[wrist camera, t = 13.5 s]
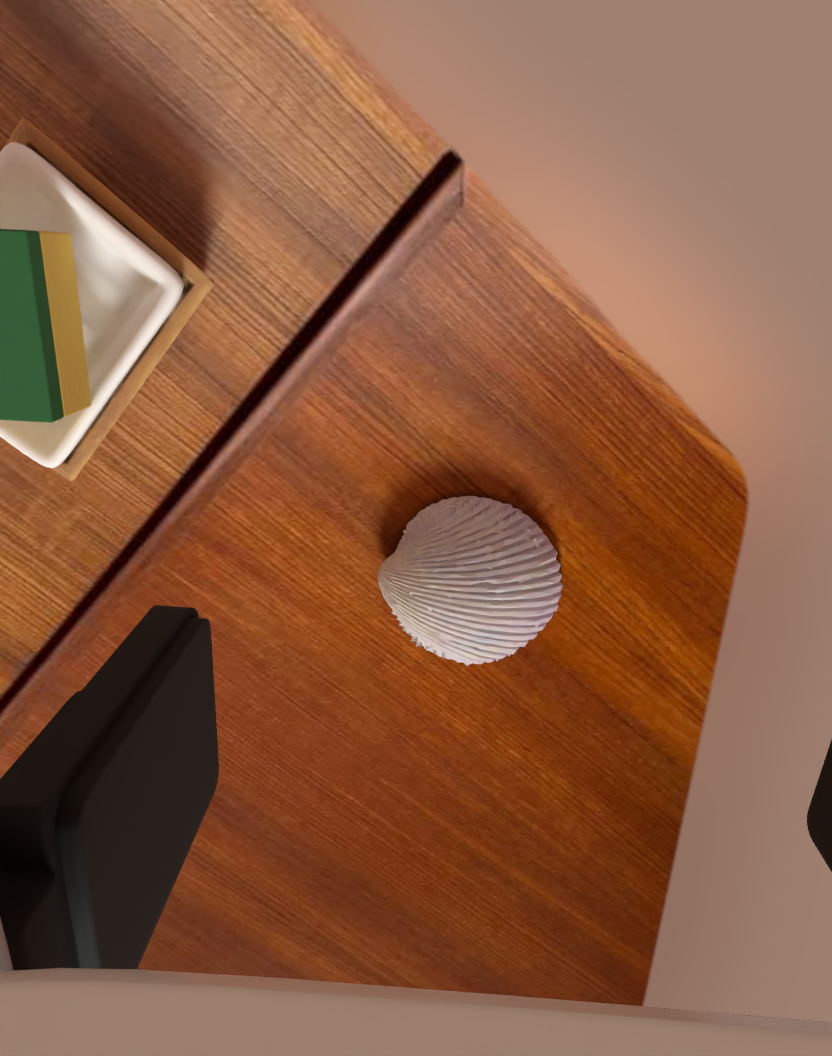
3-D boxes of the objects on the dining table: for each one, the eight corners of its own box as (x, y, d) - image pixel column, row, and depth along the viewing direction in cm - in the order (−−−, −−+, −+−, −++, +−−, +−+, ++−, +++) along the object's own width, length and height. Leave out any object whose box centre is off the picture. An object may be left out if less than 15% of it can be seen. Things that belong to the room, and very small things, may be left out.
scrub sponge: (-39, 227, 29) (-99, 223, 26) (72, 233, 29) (25, 230, 26) (-9, 400, 32) (-61, 417, 28) (92, 406, 32) (52, 423, 28)
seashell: (380, 494, 35) (581, 542, 33) (407, 470, 40) (583, 510, 38) (351, 671, 38) (532, 723, 37) (380, 628, 43) (540, 672, 42)
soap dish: (66, 129, 32) (2, 108, 27) (238, 279, 34) (207, 283, 30) (-60, 339, 36) (-136, 352, 31) (103, 463, 38) (56, 492, 33)
